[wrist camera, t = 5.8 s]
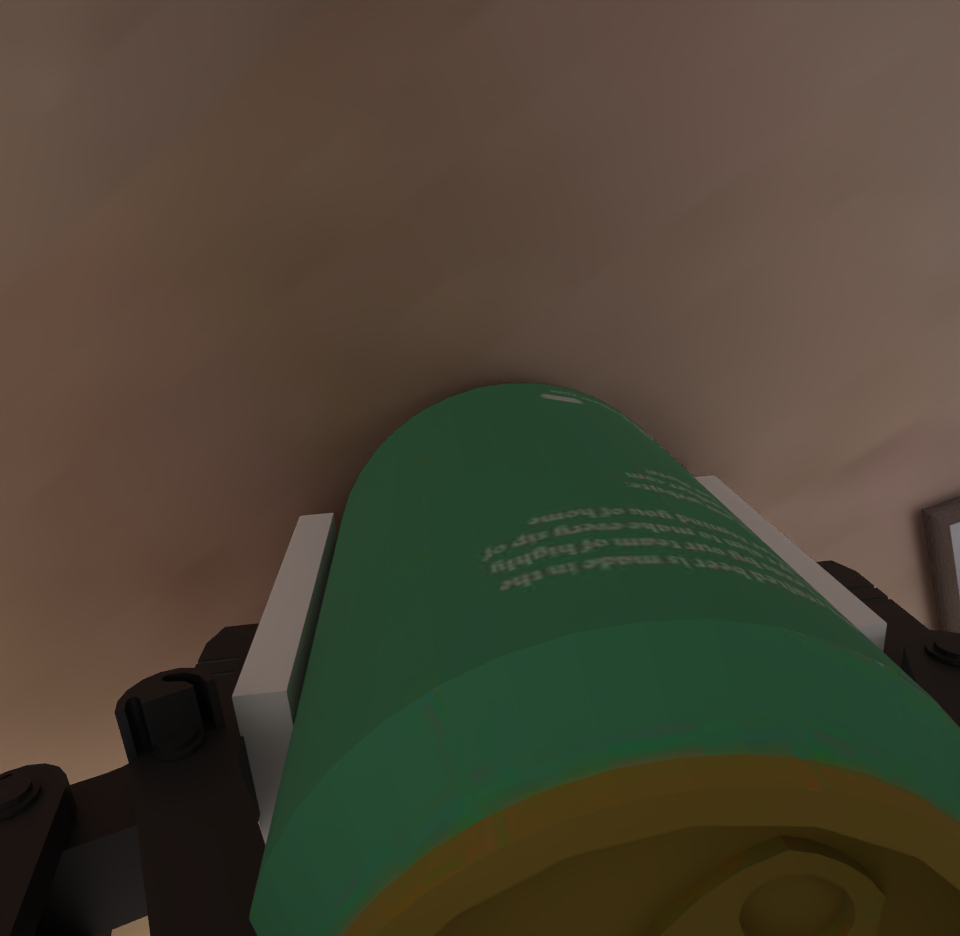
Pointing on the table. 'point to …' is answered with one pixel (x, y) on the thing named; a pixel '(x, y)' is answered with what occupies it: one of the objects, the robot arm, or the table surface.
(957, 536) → the grey square paddle
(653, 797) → the beverage can
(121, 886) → the robot arm
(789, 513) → the table surface
